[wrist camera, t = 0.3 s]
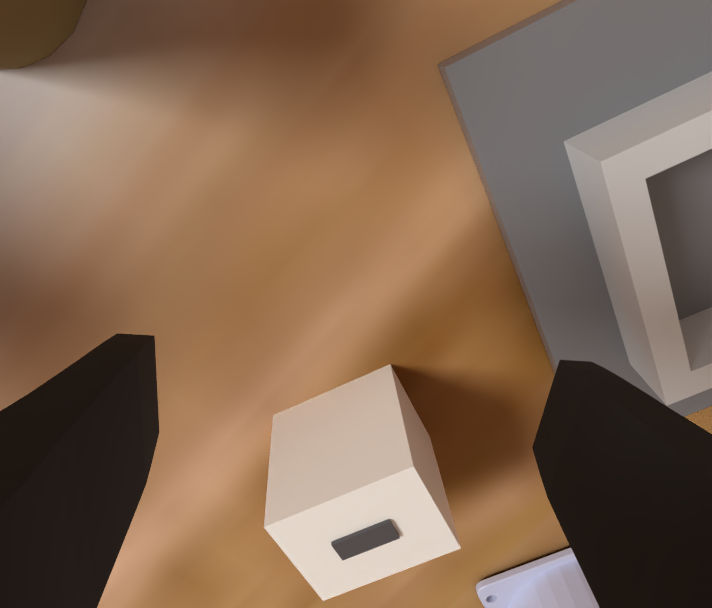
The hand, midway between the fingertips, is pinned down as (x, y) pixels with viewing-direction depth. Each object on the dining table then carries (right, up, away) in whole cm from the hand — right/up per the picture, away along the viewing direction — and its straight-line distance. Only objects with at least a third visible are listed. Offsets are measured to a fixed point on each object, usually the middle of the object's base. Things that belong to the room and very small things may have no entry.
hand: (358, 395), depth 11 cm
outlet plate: (+12, +5, +9) cm, 16 cm away
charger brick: (0, -3, +13) cm, 13 cm away
